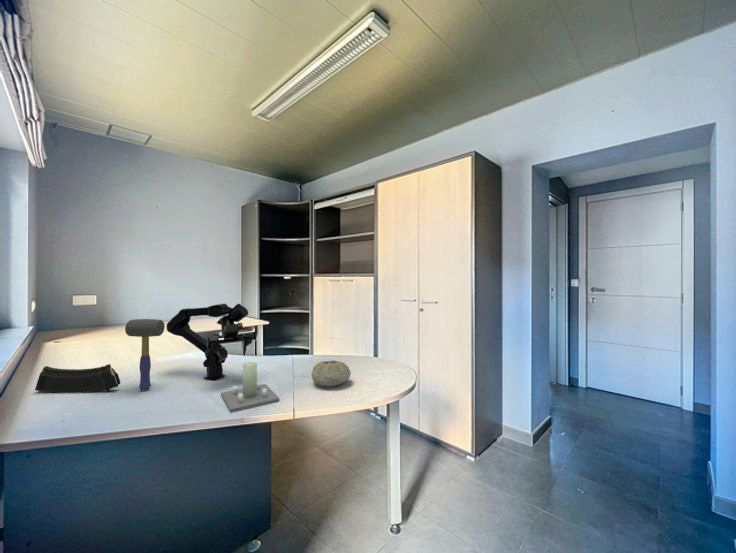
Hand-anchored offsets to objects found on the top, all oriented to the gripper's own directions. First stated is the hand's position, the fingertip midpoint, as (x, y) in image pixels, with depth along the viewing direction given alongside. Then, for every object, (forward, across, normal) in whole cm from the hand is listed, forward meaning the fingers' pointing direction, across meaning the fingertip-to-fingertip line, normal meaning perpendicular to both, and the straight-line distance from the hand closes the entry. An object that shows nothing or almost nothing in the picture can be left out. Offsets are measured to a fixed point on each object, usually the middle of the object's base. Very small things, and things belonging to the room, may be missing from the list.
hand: (233, 356), depth 134 cm
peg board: (+20, +3, -1) cm, 20 cm away
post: (+19, +3, -2) cm, 20 cm away
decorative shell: (+22, +38, -3) cm, 45 cm away
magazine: (-11, -53, +31) cm, 63 cm away
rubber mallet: (-2, -31, +22) cm, 38 cm away
